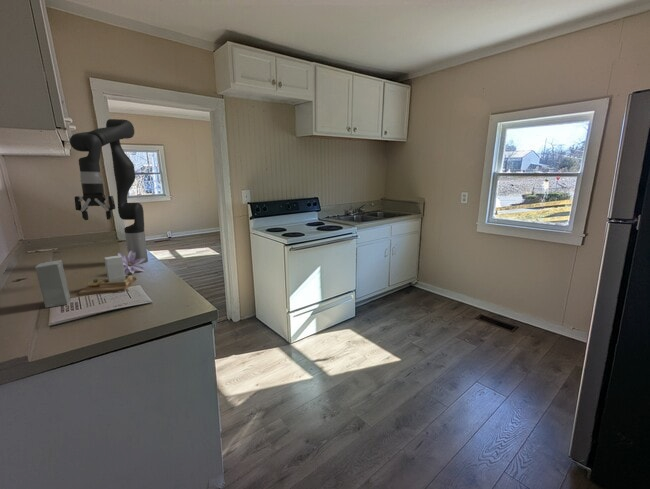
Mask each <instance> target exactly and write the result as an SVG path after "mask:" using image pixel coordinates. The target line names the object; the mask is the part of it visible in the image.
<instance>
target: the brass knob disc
mask: <svg viewBox="0 0 650 489" xmlns="http://www.w3.org/2000/svg"><path fill="white" fill-rule="evenodd" d="M101 282H102V280H101V279H98V278H95V279H94V278H93V279H92V280H91V281H89V282H87V284H88V285H87V286H89V287H98V286H100V285H99V284H100V283H101Z"/></svg>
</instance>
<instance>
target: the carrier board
mask: <svg viewBox="0 0 650 489" xmlns="http://www.w3.org/2000/svg"><path fill="white" fill-rule="evenodd" d="M100 280H102V282H101V283H100V284H99V285H100V286H98V287H89V286H88V285H86V286H85V287H84V288H83V289H81V290H80V291H79V292H78V295H79V296H85V295H86V296H87V295H97V294H99V293H101V294H108V293H107V292H113V293H119V292H118V291H124V292H126V291H127V289H128V288H129V287H131V285H132V284H133V283H135V282H136V280H137V277H136V276H133V274H132V275H130V274H127V275H126V276H125V280H124V281H121V282H108V279H107V277H106V278H103V279H102V278H101V279H100Z"/></svg>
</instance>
